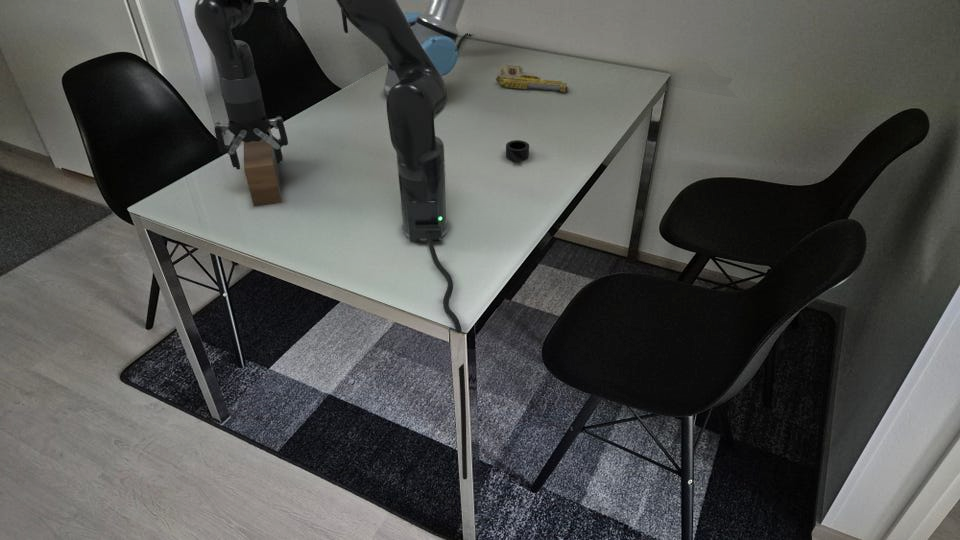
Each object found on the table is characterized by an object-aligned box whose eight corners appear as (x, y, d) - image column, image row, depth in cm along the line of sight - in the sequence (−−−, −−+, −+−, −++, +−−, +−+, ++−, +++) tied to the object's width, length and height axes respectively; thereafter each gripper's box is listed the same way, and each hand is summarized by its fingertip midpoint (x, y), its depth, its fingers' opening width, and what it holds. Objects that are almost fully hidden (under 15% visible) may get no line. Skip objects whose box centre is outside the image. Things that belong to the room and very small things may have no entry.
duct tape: (493, 159, 157) (493, 148, 155) (515, 144, 163) (515, 134, 161) (519, 168, 153) (519, 157, 151) (540, 152, 160) (541, 142, 158)
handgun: (571, 77, 201) (567, 95, 190) (501, 70, 205) (493, 87, 193) (572, 69, 200) (567, 86, 188) (501, 63, 203) (493, 79, 191)
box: (281, 202, 141) (273, 164, 135) (253, 206, 140) (243, 168, 134) (277, 159, 157) (269, 123, 151) (252, 162, 156) (243, 127, 150)
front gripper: (277, 84, 133) (290, 153, 143) (206, 91, 130) (224, 161, 140) (279, 98, 127) (292, 169, 137) (204, 105, 124) (224, 177, 134)
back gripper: (356, -70, 146) (366, 24, 159) (244, -64, 140) (264, 34, 153) (361, -64, 140) (371, 33, 153) (244, -57, 134) (265, 43, 147)
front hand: (258, 165), depth 138 cm, fingers open, 8 cm apart
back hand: (317, 34), depth 153 cm, fingers open, 13 cm apart
